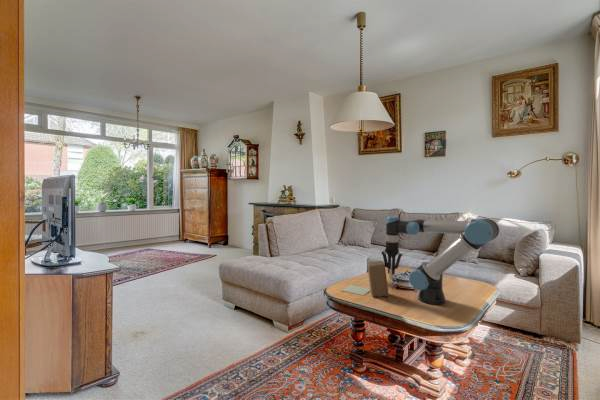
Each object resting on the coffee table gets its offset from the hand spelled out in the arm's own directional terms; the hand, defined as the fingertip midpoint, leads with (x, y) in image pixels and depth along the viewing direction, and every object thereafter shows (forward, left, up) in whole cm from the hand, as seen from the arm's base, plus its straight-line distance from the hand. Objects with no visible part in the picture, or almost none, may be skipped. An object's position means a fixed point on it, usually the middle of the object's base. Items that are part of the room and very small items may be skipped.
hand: (391, 278), depth 195 cm
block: (+7, 0, -11) cm, 13 cm away
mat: (+23, 0, -12) cm, 26 cm away
